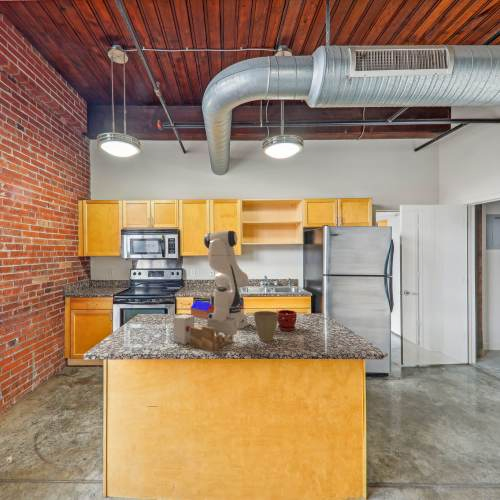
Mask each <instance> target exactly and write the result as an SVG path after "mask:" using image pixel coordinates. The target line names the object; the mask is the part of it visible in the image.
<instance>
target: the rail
mask: <svg viewBox="0 0 500 500" xmlns="http://www.w3.org/2000/svg"><path fill="white" fill-rule="evenodd" d="M224 337H225V335H222V346H224V345H226V344H227V345H228V344H229V343H232V342H233V341H234V335H230V334H229V335H228V337H227V341H223V338H224Z"/></svg>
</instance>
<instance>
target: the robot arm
mask: <svg viewBox="0 0 500 500" xmlns="http://www.w3.org/2000/svg"><path fill="white" fill-rule="evenodd" d="M237 235H238V234H237V233H236V232H235V231H234V230H221V231H216V232H209V233H206V234H205V235H204V237H203V242H204V246H205V248H207V249H208V263H209V264H208V265H209V267H210V268H211V269H212V270H214V271H216V272H217V273H216V274H215V275H214V283H215V285H216V286H217V287H216V288H214V291H213V292H211V294H210V295H209V303H210V305H211V306H213V307H215V308H214V312H213V313H211V314H208V315H207V317H208V319H206V320H207V322H206V323H207V325H206V326H208V327H212V328H215V336H217V335H220V333H221V334H223V336H225V337H224V338H223V341H227V337H228V335H229V334H230V335H233V336H234V335H236V334H237V332H238V329H241V330H242V329H243V328H246V327H247V326H249V325H251V322H250V321H248V317H247V315H246V314H245V313H244V312H242V311H241V310H243V309H244V306H243V305H242V306H241V305H240V304H241V295H240V291H239V288H245V287H246V286H247V285H248V283H249V276H248V274H247V273H245V272H244V271H243V270H242V269H241V268H240V266H239V265H238V262H237V258H236V254H235V253H236V252H235V249H234V247H236V245H237V244H238V236H237Z"/></svg>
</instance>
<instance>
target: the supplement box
mask: <svg viewBox="0 0 500 500" xmlns="http://www.w3.org/2000/svg"><path fill="white" fill-rule="evenodd" d="M172 323H173V325H172V326H173V328H172V329H173V330H172V333H173V334H172V336H173V337H172V338H173V340H172V342H173V343H176V344H182V345H186V344H190V327H195V316H193V315H191V314H186V313H185V314H184V313H183V314H180V315H175V316H173V322H172Z"/></svg>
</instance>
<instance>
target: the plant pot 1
mask: <svg viewBox="0 0 500 500" xmlns="http://www.w3.org/2000/svg"><path fill="white" fill-rule="evenodd" d="M277 312H278V311H277ZM277 312H276V311H272V310H271V311H269V310H261V311H260V310H259V311H255V312H253V317H254V318H253V320H254V323H255V329H256V332H257V334H258V335H257V336H258V338H259V340H260V342H264V343H266V342H267V343H268V342H272V341H273V339H274V336H275V334H276V330H277V327H278V326H277V325H278V315H279V314H278V313H277Z"/></svg>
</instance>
